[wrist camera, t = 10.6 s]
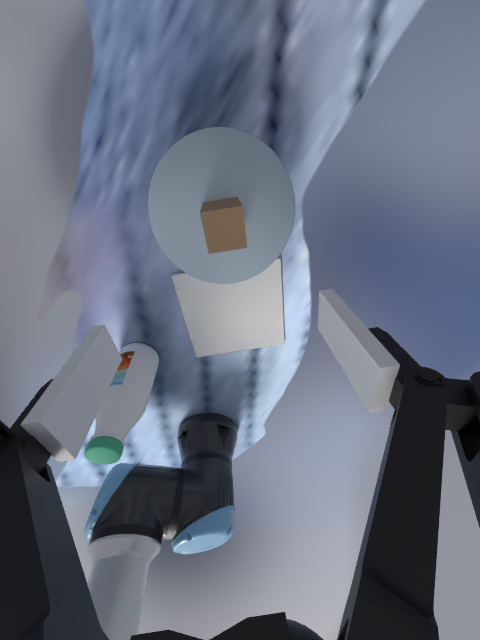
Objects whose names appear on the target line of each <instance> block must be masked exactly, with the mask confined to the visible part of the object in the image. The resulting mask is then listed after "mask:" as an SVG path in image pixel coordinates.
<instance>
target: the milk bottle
mask: <svg viewBox="0 0 480 640" xmlns="http://www.w3.org/2000/svg"><path fill="white" fill-rule="evenodd" d="M119 353H120V355H121V357H122V361H121V363H120V365H119V367H118V369H117V371H116V373H115V376H114V378H113V380H112V382H111V384H110V386H109V389H108V391H107V393H106V395H105V397H104V399H103V401H102V404H101V406H100V408H99V410H98V412H97V414H96V417H95V418H96V428H95V434H94V435H93V436H92V437H91V438H90V442H89V443H88V445H87V447H86V450H85V457H86V458H87V459H88V460H89V461H91V462H93V463H97V464H112V463H115V462H117V461H118V460H119V459H120V457H121V455H122V452H123V447H124V445H125V441H124V440H125V438H126V436H127V434H128V433H129V431H130V430H131V429H132V428H133V427H134V426H135V425H136V423H137V422H138V421H139V420H140V418H141V417H142V415H143V413H144V411H145V409H146V406H147V403H148V400H149V397H150V393H151V390H152V386H153V383H154V379H155V375H156V372H157V368H158V364H159V356H158V354H157V352H156V351H155V350H154V349H153V348H152V347H150V346H148V345H146V344H143V343H131V344H128V345H126V346H125V347H123V348H122V349H121V350H120V352H119Z"/></svg>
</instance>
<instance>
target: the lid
mask: <svg viewBox="0 0 480 640" xmlns="http://www.w3.org/2000/svg"><path fill="white" fill-rule="evenodd" d="M148 212H149V220H150V224H151V228H152V231H153V233H154V236H155V238H156V240H157V242H158V244H159V246H160V248H161V249H162V251H163V252H164V254H165V255H166V256H167V257H168V258H169V260H170V261H171V262H172V263H173V264H174V265H176V266H177V267H178V268H179V269H180V270H182V271H183V272H185V273H186V274H188V275H190V276H192V277H194V278H196V279H199V280H201V281H205V282H209V283H215V284H232V283H238V282H242V281H245V280H248V279H250V278H252V277H255V276H257V275H258V274H260V273H261V272H263V271H264V270H266V269H267V268H268V267H269V266H270V265H271V264H272V263H273V262H274V261H275V260H276V259H277V258H278V256H279V255H280V254H281V252H282V251H283V249H284V247H285V246H286V244H287V242H288V239H289V237H290V234H291V231H292V227H293V223H294V217H295V199H294V192H293V187H292V184H291V181H290V178H289V175H288V173H287V171H286V169H285V167H284V165H283V163H282V162H281V160H280V159H279V157H278V156H277V155H276V154H275V153H274V151H273V150H272V149H271V148H270V147H269V146H267V145H266V144H265V143H264V142H263V141H262V140H260V139H258V138H257V137H255V136H253V135H252V134H249V133H247V132H244V131H242V130H238V129H234V128H229V127H210V128H205V129H201V130H197V131H195V132H193V133H190V134H188V135H186V136H185V137H183V138H182V139H180V140H179V141H177V142H176V143H175V144H174V145H173V146H172V147H171V148H169V150H168V151H167V152H166V153H165V154H164V156H163V157H162V158H161V160H160V162H159V163H158V165H157V167H156V169H155V172H154V174H153V176H152V180H151V184H150V187H149V195H148Z"/></svg>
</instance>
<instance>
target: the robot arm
mask: <svg viewBox="0 0 480 640" xmlns="http://www.w3.org/2000/svg"><path fill="white" fill-rule="evenodd" d="M318 329H319V331H320V332H321V334H322V336H323V337H324V339H325V341H326V342H327V344H328V346H329V347H330V349H331V351H332V352H333V354H334V355H335V357H336V359H337V361H338V362H339V364H340V366H341V367H342V369H343V370H344V372H345V374H346V375H347V377H348V379H349V380H350V382H351V384H352V385H353V387H354V389H355V390H356V392H357V394H358V395H359V397H360V398H361V400H362V402H363V403H364V405H365V407H366V408H367V410H368V412H369V413H375V412H381V411H387V408H388V404H389V402H390V403H391V405H392V406H393V407H394V409H395V411H394V414H393V417H392V420H391V423H390V425H391V426H390V431H389V435H388V439H387V443H386V447H385V451H384V455H383V459H382V463H381V467H380V472H379V475H378V479H377V484H376V488H375V491H374V496H373V500H372V504H371V508H370V512H369V516H368V520H367V524H366V528H365V532H364V536H363V540H362V544H361V548H360V553H359V557H358V561H357V565H356V569H355V573H354V577H353V581H352V585H351V589H350V593H349V596H348V600H347V603H346V607H345V610H344V614H343V618H342V622H341V626H340V630H339V634H338V638H337V640H439V635H438V626H437V623H436V620H435V617H434V611H433V605H434V588H435V573H436V558H437V544H438V529H439V514H440V499H441V485H442V469H443V455H444V440H445V430H451V433H452V436H453V439H454V443H455V446H456V450H457V453H458V456H459V460H460V463H461V466H462V470H463V473H464V476H465V480H466V483H467V487H468V490H469V493H470V497H471V500H472V503H473V507H474V510H475V514H476V517H477V520H478V523H479V527H480V372H476V373H474V374H473V375H472V376H471V377H470V380H459V379H448V378H445V377H444V376H443V375H442V374H440V373H439V372H437V371H435V370H433V369H430V368H426V367H421V366H420V365H419V364H418V363H417V362H416V361H415V360H414V359H413V358H411V356H410V355H409V354H408V353H407V352H406V351H405V350H404V349H403V348H402V347H400V346H399V344H398V343H397V342H396V341H394V339H393V338H392V337H391V336H390V335H389V334H388V333H387V332H385V331H383V330H381V329H380V328H378V327H376V328H369V329H368V328H367V327H366V326H365V325H364V324H363V323H362V322H361V321H360V320H359V318H358V317H357V316H356V315H355V314H354V313H353V312H352V311H351V310H350V308H349V307H348V306H347V305H346V304H345V303H344V302H343V301H342V299H341V298H340V297H339V296H338V295H337V294H336V293H335V292H334V291H333V289H328V290H322V291H319V312H318ZM121 361H122V357H121V355H120V353H119V352H118V350H117V348H116V346H115V344H114V342H113V340H112V338H111V336H110V334H109V333H108V331H107V329H106V327H105V325H101V326H95V327H92V328H91V329H90V330H89V332H88V333H87V334H86V336H85V337H84V339H83V340H82V341H81V343H80V344H79V345H78V347H77V348H76V349H75V351H74V352H73V354H72V355H71V356H70V358H69V359H68V360H67V362H66V363H65V365H64V366H63V367H62V369H61V370H60V372H59V373H58V374H57V375H56V377H55V378H54V379H51V380H50V381H49V382H47V383H46V384H45V385H44V386H43V387H41V389H40V390H39V391H38V392H37V394H36V395H35V396H34V398H33V399H32V400H31V402H30V403H29V406H27V407H26V408H25V410H24V411H23V412H22V413H21V415H20V416H19V417H18V419H17V420H16V421H15V423H14V424H13V425H12V427H11V428H10V429H9V428H8V427H7V426H6V425H5V424H4V423H3V422H2V421H1V420H0V640H203V639H199V638H196V637H192V636H188V635H185V634H182V633H178V632H175V631H171V630H164V631H158V632H151V633H145V634H138V628H139V622H140V616H141V610H142V603H143V597H144V592H145V585H146V579H147V572H148V567H149V563H150V562H151V561H152V560H153V558H154V557H155V556H156V555H157V554H158V553H159V552H160V548H161V541H162V540H172V547H173V551H174V552H176V553H181V554H192V553H198V552H203V551H206V550H210V549H213V548H215V547H217V546H220V545H221V544H223V543H225V542H226V541H227V540H228V539H229V538H230V537H231V535H232V534H233V531H234V511H235V507H234V495H233V478H232V456H233V453H234V449H235V445H236V441H237V428H236V425H235V423H234V422H233V421H232V420H231V419H229V418H227V417H225V416H222V415H219V414H199V415H195V416H192V417H190V418H188V419H186V420H185V421H184V422H183V423H182V424H181V425H180V427H179V430H178V445H179V450H180V455H181V460H182V466H181V468H174V467H164V466H155V465H145V464H140V463H135V464H129V463H120V464H117V465H116V466H114V467H113V468H112V470H111V471H110V472H109V474H108V475H107V477H106V479H105V481H104V483H103V485H102V487H101V489H100V491H99V493H98V495H97V497H96V500H95V502H94V505H93V509H92V511H91V513H90V515H89V517H88V520H87V523H86V526H85V530H84V536H85V537H87V539H91V540H90V543H89V546H88V549H87V552H88V555H89V556H90V559H91V561H92V563H93V566H92V570H91V574H90V576H89V579H88V583H87V582H86V578H85V575H84V572H83V569H82V566H81V562H80V559H79V556H78V553H77V550H76V547H75V543H74V540H73V537H72V534H71V531H70V527H69V524H68V521H67V518H66V515H65V511H64V508H63V505H62V502H61V499H60V496H59V492H58V489H57V486H56V483H55V480H54V477H53V473H52V470H51V467H50V466H49V465H48V464H47V461H48V459H49V458H50V456H51V455H52V456H53V457H54V458H55V459H56V460H57V461H58V462H62V461H69V460H75V459H76V457H77V455H78V453H79V451H80V449H81V447H82V444H83V442H84V440H85V438H86V436H87V434H88V432H89V429H90V427H91V425H92V423H93V421H94V419H95V417H96V414H97V412H98V410H99V408H100V406H101V404H102V401H103V399H104V397H105V395H106V393H107V391H108V389H109V386H110V384H111V382H112V380H113V378H114V376H115V373H116V371H117V369H118V367H119V365H120V363H121ZM210 640H323V639H322V638H321V637H320V636H319V635H318V634H317V633H315V632H314V631H312V630H311V629H309V628H308V627H306V626H305V625H302V624H300V623H298V622H296V621H292V620H289V619H286V615H285V612H281V613H275V614H268V615H262V616H256V617H249V618H246V619H244V620H243V621H241V622H239V623H237V624H236V625H234V626H232V627H231V628H229V629H227V630H226V631H224V632H222V633H220V634H219V635H217V636H215V637H214V638H212V639H210Z"/></svg>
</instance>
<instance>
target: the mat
mask: <svg viewBox="0 0 480 640" xmlns="http://www.w3.org/2000/svg"><path fill="white" fill-rule="evenodd" d="M171 278H172V281H173V284H174V288H175V291H176V294H177V297H178V300H179V304H180V307H181V310H182V313H183V317H184V320H185V323H186V326H187V329H188V333H189V336H190V339H191V342H192V345H193V349H194V352H195V355H196V358H198V357H204V356H211V355H217V354H224V353H230V352H237V351H243V350H250V349H256V348H263V347H269V346H276V345H282V344H284V323H283V300H282V277H281V258H280V257H279V258H277V259H276V260H275V261H274V262H273V263H272V264H271V265H270V266H269V267H268V268H267V269H266V270H264V271H263V272H261V273H260V274H258V275H257V276H255V277H252V278H250V279H248V280H245V281H242V282H238V283H232V284H215V283H209V282H205V281H201V280H199V279H196V278H194V277H192V276H190V275H188V274H186V273H185V272H184V273H178V274H171Z"/></svg>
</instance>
